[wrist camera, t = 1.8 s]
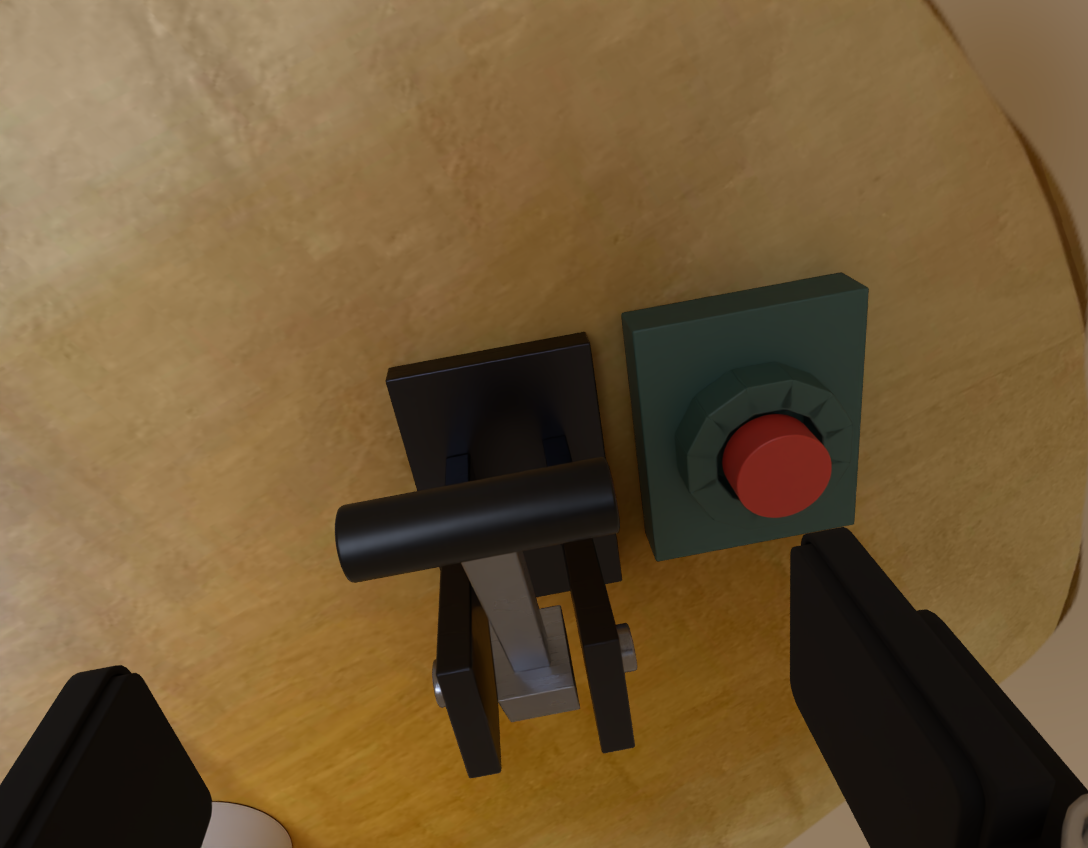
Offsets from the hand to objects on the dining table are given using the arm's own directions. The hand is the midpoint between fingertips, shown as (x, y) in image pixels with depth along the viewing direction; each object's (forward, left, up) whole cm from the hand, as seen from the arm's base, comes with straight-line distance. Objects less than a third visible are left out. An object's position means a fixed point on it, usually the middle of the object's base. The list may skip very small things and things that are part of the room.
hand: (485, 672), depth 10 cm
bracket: (+9, 0, -19) cm, 21 cm away
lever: (+4, 0, -7) cm, 8 cm away
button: (+8, +10, -16) cm, 20 cm away
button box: (+8, +10, -19) cm, 23 cm away
